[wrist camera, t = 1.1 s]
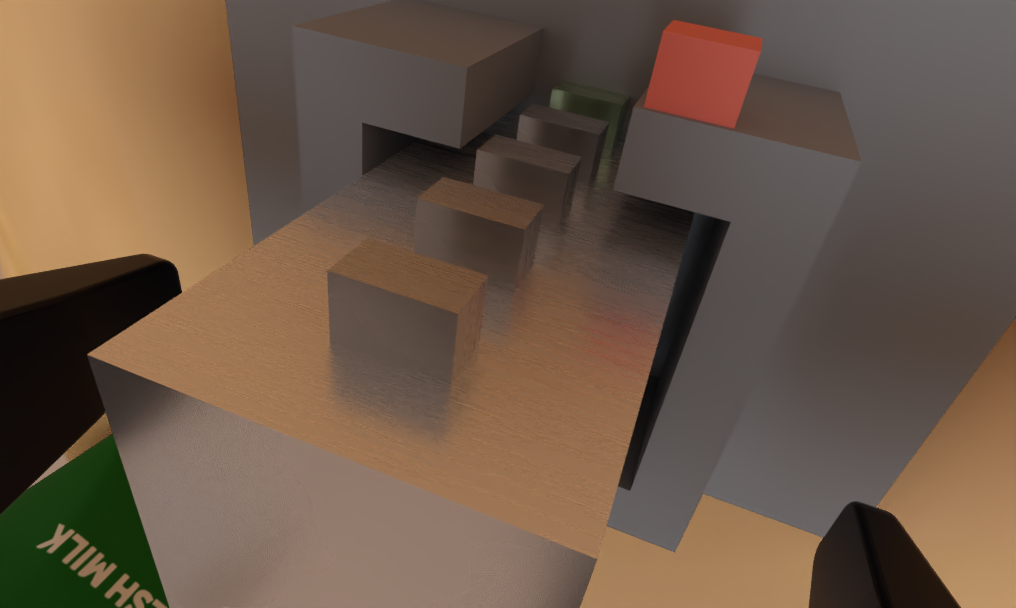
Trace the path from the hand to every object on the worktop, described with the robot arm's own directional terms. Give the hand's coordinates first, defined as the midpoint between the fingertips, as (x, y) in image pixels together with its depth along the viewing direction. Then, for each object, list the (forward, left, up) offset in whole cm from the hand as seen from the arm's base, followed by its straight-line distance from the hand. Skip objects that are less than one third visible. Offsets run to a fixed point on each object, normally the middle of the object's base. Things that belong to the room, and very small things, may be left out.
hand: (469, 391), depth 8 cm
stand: (0, 0, -6) cm, 6 cm away
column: (0, 0, -4) cm, 5 cm away
